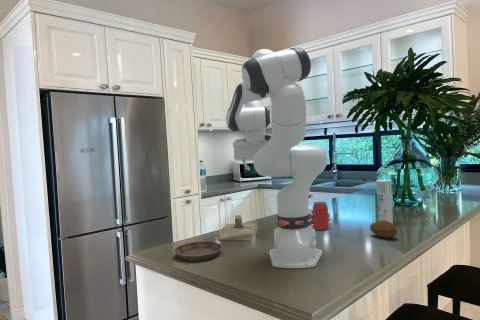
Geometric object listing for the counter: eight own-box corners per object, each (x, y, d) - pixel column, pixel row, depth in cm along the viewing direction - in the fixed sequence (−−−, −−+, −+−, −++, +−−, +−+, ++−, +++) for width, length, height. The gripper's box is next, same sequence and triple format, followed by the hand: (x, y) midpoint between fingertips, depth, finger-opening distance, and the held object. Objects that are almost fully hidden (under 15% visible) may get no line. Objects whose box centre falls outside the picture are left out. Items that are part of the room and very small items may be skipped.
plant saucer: (232, 253, 134) (231, 245, 134) (193, 267, 122) (193, 258, 122) (203, 246, 147) (202, 238, 147) (166, 257, 135) (165, 249, 135)
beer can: (329, 230, 158) (327, 203, 157) (313, 230, 159) (312, 204, 159) (328, 227, 164) (327, 201, 164) (313, 227, 166) (312, 201, 165)
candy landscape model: (292, 231, 162) (291, 211, 162) (271, 221, 184) (269, 204, 184) (339, 224, 170) (338, 204, 170) (313, 215, 193) (312, 198, 192)
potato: (376, 233, 148) (375, 216, 148) (403, 238, 139) (402, 220, 139) (366, 236, 144) (365, 219, 144) (393, 242, 135) (392, 223, 135)
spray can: (396, 224, 161) (394, 180, 161) (384, 225, 160) (382, 181, 159) (386, 221, 168) (384, 179, 167) (375, 223, 166) (372, 180, 165)
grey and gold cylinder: (241, 236, 157) (240, 216, 157) (235, 236, 158) (234, 216, 158) (243, 234, 160) (241, 214, 160) (236, 234, 161) (235, 215, 161)
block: (252, 239, 151) (251, 230, 151) (219, 240, 154) (219, 231, 153) (257, 231, 164) (256, 223, 164) (227, 232, 167) (226, 223, 167)
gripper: (231, 139, 158) (233, 170, 158) (277, 136, 154) (279, 168, 154) (234, 139, 164) (236, 169, 164) (278, 136, 160) (280, 167, 161)
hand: (257, 168), depth 159 cm, fingers open, 8 cm apart
